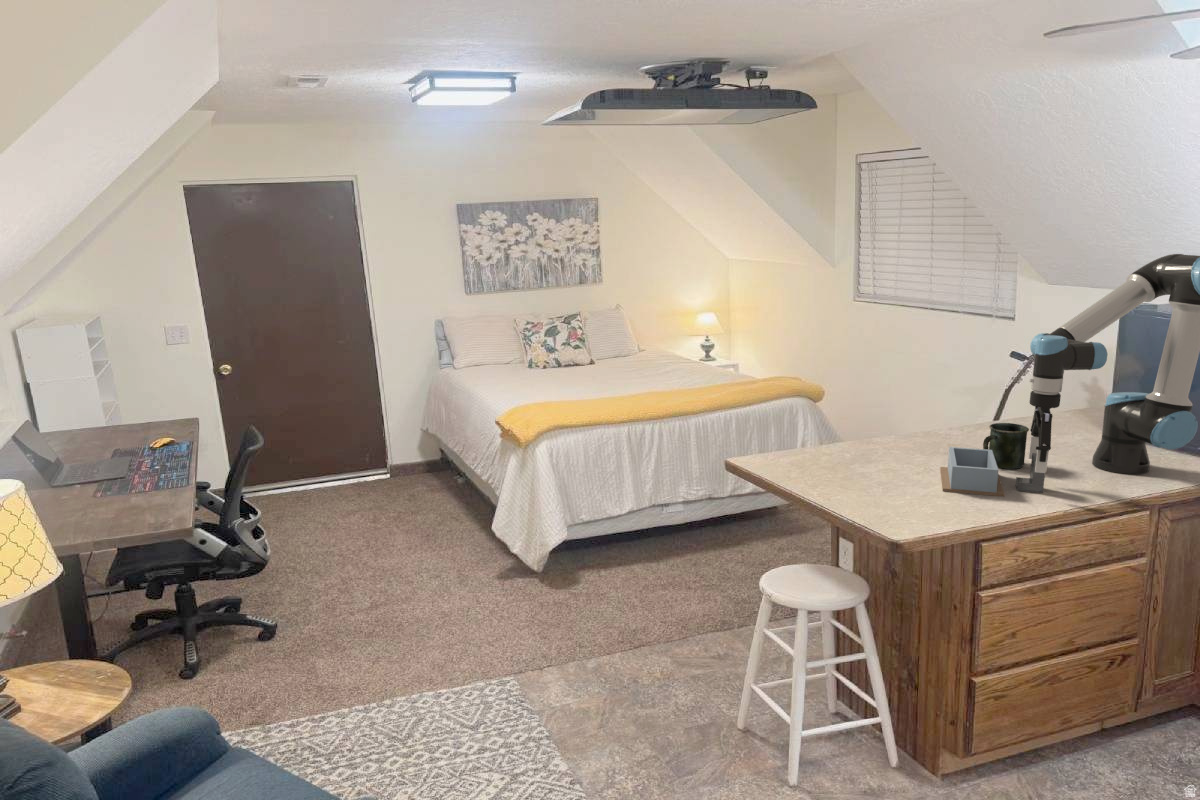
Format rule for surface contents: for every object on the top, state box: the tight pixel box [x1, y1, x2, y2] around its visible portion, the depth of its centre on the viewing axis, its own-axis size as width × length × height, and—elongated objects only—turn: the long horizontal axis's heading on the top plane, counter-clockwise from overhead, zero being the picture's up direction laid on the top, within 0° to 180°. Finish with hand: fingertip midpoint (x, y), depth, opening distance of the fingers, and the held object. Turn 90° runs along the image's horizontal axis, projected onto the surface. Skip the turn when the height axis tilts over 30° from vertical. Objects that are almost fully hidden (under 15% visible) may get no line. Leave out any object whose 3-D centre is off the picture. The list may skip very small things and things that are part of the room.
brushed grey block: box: [1015, 453, 1046, 494], centre depth 252 cm, size 6×5×10 cm
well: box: [939, 446, 1005, 497], centre depth 259 cm, size 16×21×7 cm
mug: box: [982, 422, 1030, 470], centre depth 274 cm, size 11×15×12 cm
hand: (1037, 465), depth 251 cm, fingers open, 13 cm apart
